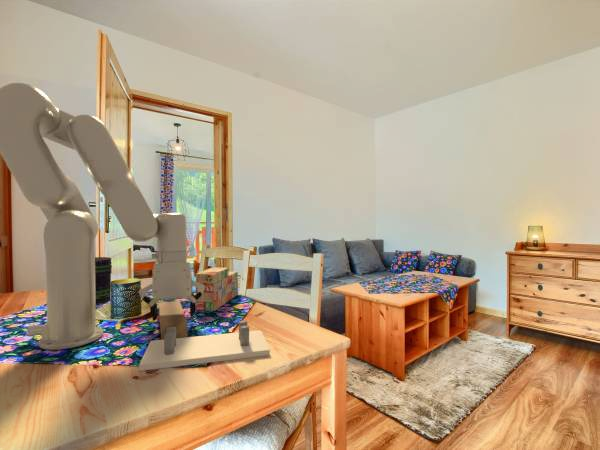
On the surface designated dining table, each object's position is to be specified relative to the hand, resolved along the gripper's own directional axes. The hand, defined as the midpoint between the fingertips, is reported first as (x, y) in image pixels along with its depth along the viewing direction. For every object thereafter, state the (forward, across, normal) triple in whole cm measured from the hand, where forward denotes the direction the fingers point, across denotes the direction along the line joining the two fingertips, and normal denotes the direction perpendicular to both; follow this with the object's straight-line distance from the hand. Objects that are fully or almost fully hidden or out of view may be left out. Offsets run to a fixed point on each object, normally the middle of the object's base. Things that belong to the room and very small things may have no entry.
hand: (173, 317), depth 86 cm
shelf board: (+2, -1, 0) cm, 2 cm away
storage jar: (+2, -30, +33) cm, 44 cm away
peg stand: (+2, +9, -20) cm, 22 cm away
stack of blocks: (+3, +13, +20) cm, 24 cm away
